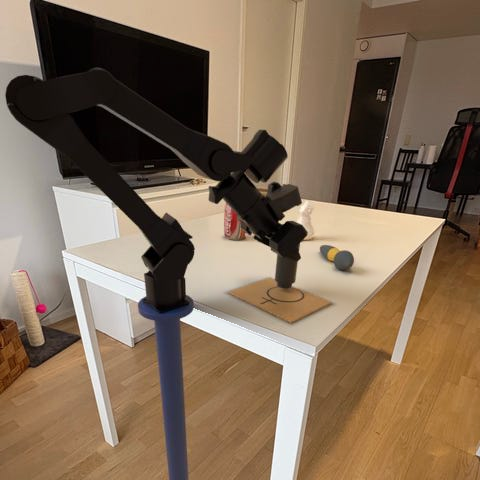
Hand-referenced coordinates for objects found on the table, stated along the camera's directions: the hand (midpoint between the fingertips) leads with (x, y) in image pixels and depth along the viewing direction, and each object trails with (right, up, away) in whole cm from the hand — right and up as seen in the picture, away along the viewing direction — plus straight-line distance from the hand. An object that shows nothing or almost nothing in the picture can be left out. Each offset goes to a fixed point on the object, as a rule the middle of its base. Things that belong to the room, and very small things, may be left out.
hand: (293, 256), depth 71 cm
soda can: (-13, +13, +40) cm, 44 cm away
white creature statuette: (+9, +14, +43) cm, 46 cm away
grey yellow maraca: (+14, +2, +22) cm, 26 cm away
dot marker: (-2, -6, +3) cm, 7 cm away
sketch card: (-3, -9, 0) cm, 9 cm away
